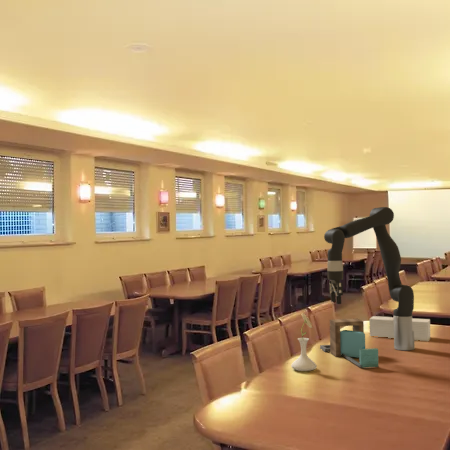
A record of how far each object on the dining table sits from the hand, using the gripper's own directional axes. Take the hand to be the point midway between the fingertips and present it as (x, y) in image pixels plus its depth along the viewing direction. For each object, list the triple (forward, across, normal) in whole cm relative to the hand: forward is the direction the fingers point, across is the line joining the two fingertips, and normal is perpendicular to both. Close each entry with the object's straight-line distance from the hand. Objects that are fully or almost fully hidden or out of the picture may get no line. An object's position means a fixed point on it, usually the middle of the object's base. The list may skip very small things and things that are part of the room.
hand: (336, 302), depth 250 cm
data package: (+26, -1, -7) cm, 27 cm away
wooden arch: (+26, +4, -6) cm, 28 cm away
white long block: (+27, +40, -50) cm, 70 cm away
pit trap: (+27, +15, -6) cm, 31 cm away
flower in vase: (+27, -20, +22) cm, 40 cm away
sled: (+26, -8, -7) cm, 28 cm away
